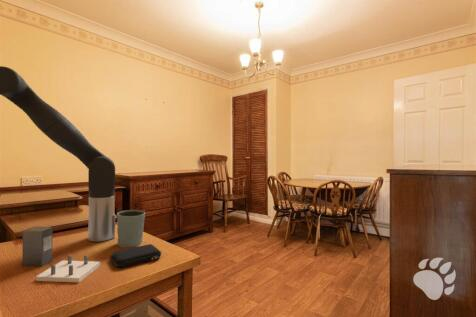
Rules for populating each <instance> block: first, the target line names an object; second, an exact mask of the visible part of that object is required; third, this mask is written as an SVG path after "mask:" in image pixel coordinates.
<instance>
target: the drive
mask: <svg viewBox="0 0 476 317" xmlns="http://www.w3.org/2000/svg"><path fill="white" fill-rule="evenodd" d="M21 250H22V251H21V252H22V265H21V266H22V267H30V268H31V267H34V268H42V267H44V266H46V265H47V264H50V263H51V262H53V227H52V226H31V227H29V228H25V229H24V230H22V249H21Z"/></svg>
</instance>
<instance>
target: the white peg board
mask: <svg viewBox="0 0 476 317" xmlns="http://www.w3.org/2000/svg"><path fill="white" fill-rule="evenodd" d="M100 266H101V261H89V255H88V254H85V255H83V260H73V256H72V254H67V260H65V259H63V260H61V261H58V262H57V263H55V264H51V265H50V267H49V268H48V269H46V270H45V271H42V272H41V273H39V274H38V275H36V276H35V281H36V282H58V283H59V282H61V283H62V282H63V283H81V282H82V281H83V280H84V279H85V278H86V277H88V276H89V275H90V274H92V273H93V272H94V271H95V270H97V269H98V268H100Z"/></svg>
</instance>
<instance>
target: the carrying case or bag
mask: <svg viewBox="0 0 476 317" xmlns="http://www.w3.org/2000/svg"><path fill="white" fill-rule="evenodd" d="M161 256H162V251H160V250H159V248H157V247H156V246H155V245H154V244H152V243H149V244H143V245H138V246H135V247H129V248H125V249H121V250H117V251H114V252H113V253H112V254H111V255H110V261H111V262H112V263H113V265H114V266H115V267H117V268H118V269H123V268H127V267H131V266H134V265H135V266H136V265H139V264H143V263H147V262H151V261H155V260H157V259H159V258H160V257H161Z"/></svg>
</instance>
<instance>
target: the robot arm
mask: <svg viewBox="0 0 476 317" xmlns="http://www.w3.org/2000/svg"><path fill="white" fill-rule="evenodd" d="M0 96H2V97H4V98H5V99H7V100H8V101H10V102H11V103H13V104H14V105H15V106H17V107H18V108H19V109H20V110H22V111H23V112H24V114H26V115H27V117H28V118H29V119H30V120H31V121H32V123H33V124H34V125H35V126H36V127H37V128H38V129H39V130H40V132H42V133H43V134H44V135H45V136H46V137H48V138H49V140H51V141H52V142H53V143H55V144H56V145H57V146H58V147H60V148H62V149H63V150H65V151H66V152H68V153H70V154H72V155H73V156H74V157H76V158H77V159H78V160H79V161H80V162H81V163H82V164H83V165H84V166H85V167H86V169H87V170H88V179H87V180H88V181H87V182H88V185H87V186H88V225H87V226H88V227H87V228H88V230H87V231H88V232H87V237H88V241H90V242H103V241H104V242H105V241H108V240H112V239H115V238H116V214H115V202H116V201H115V194H116V192H115V190H116V165H115V163H114V160H112V159H111V158H110V157H108V156H106V155H105V154H104V153H102V152H101V151H100V150H99V149H98V148H96V147H95V146H93V145H92V144H91V143H90V142H89V140H88V139H87V138H86V137H85V136H84V135H83V133H82V131H80V130H79V129H78V128H77V127H76V126H75V125H74V124H73V123H72V122H71V121H70V120H69V119H67V117H65V116H64V114H62V113H61V112H59V111H58V110H57V109H56V108H54V107H53V106H51V105H50V104H49V103H47V102H46V101H45V100H43V99H42V98H41V97H40V96H39V95H38V94H37V93H36V92H35V91H34V90H33V89H32V87H31V86H30V85H29V84H28V83H27V82H26V81H25V79H24V78H23V77H22V76H21V75H20V74H19V73H18V72H17V71H15V70H14V69H12V68H10V67H7V66H2V65H1V66H0ZM1 196H2V195H1V194H0V197H1Z"/></svg>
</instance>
